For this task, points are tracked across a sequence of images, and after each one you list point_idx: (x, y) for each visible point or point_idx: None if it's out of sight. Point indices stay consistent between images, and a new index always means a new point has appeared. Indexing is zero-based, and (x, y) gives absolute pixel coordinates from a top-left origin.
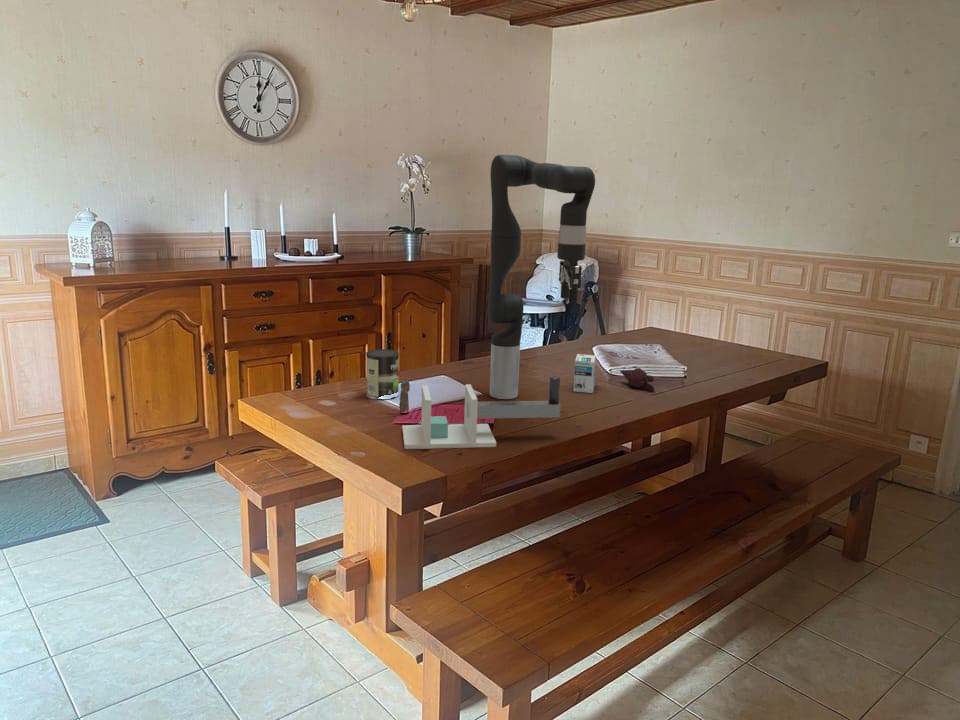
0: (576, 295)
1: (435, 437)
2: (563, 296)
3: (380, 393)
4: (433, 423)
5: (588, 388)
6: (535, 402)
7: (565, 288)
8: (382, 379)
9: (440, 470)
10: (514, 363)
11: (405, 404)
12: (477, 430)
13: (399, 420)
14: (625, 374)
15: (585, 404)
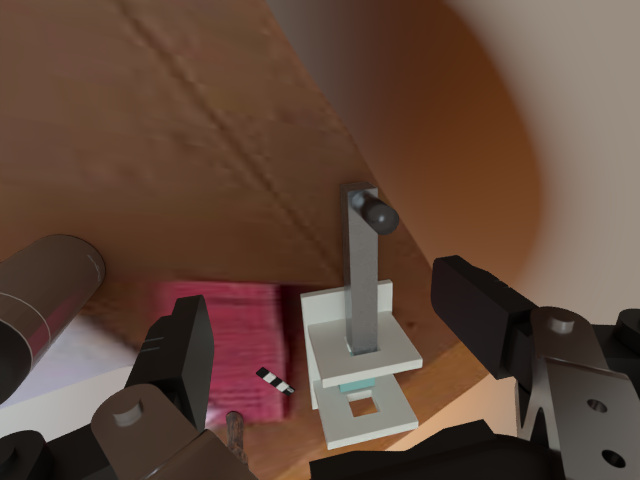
0: (490, 285)
1: None
2: (208, 338)
3: None
4: (373, 382)
5: None
6: (361, 242)
7: (195, 381)
8: None
9: (459, 340)
10: (45, 291)
11: (240, 429)
12: (336, 311)
13: (270, 415)
14: None
15: (93, 53)
